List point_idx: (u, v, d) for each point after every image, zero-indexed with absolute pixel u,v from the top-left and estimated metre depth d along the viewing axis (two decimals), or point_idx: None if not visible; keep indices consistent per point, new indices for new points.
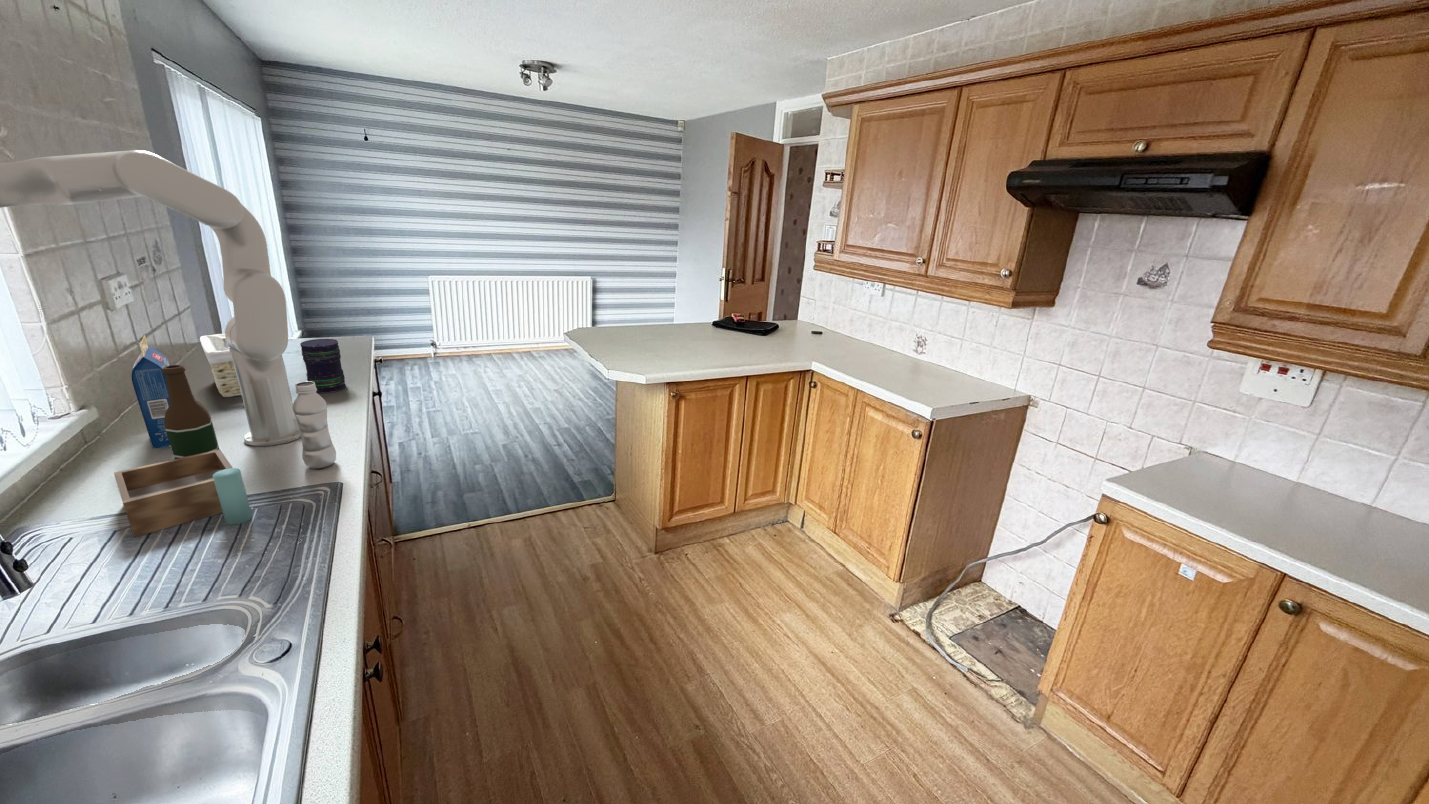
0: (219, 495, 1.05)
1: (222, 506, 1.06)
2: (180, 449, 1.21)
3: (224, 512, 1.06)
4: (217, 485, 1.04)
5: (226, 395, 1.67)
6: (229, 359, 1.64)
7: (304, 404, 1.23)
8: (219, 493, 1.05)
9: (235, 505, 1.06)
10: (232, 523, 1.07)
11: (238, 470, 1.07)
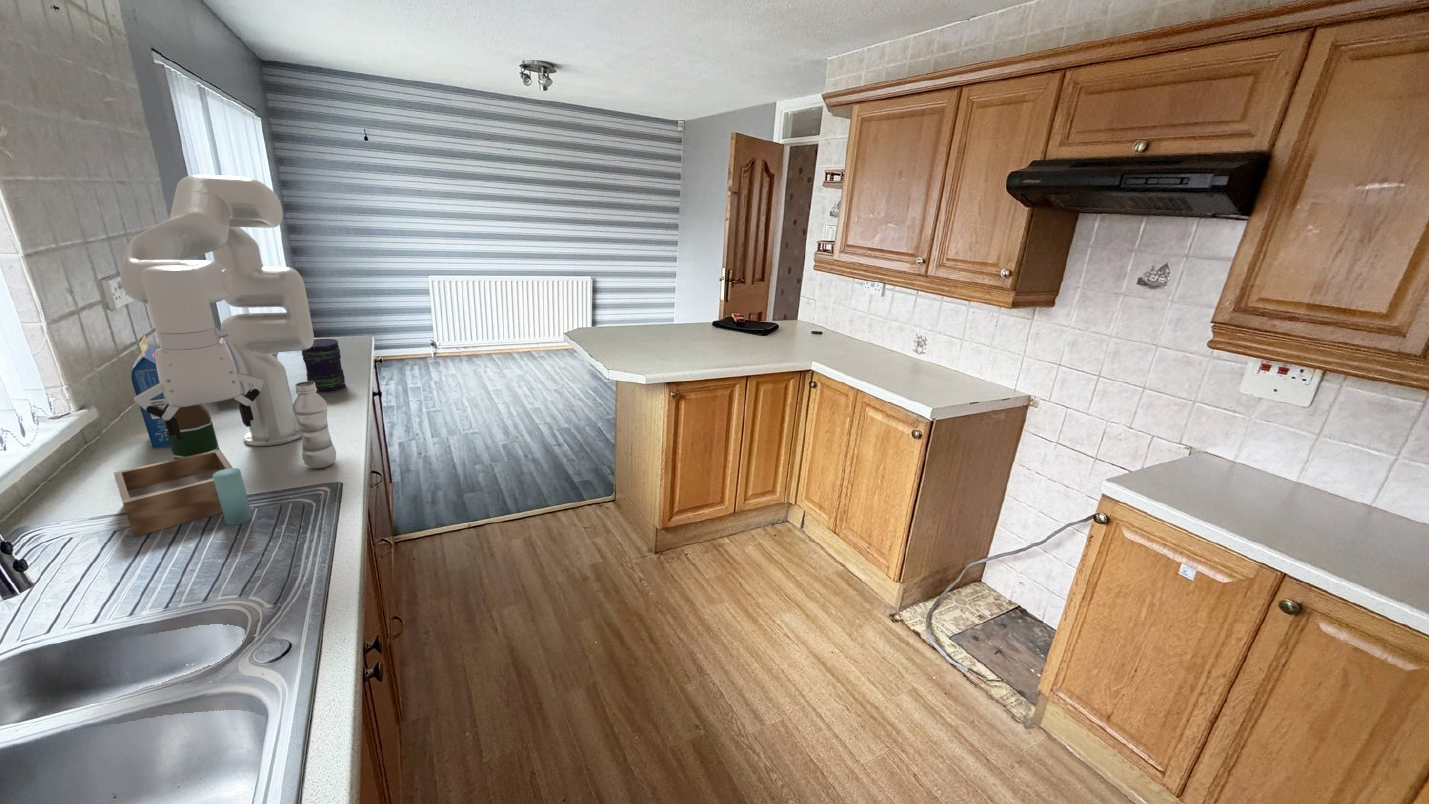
0: (219, 495, 1.05)
1: (222, 506, 1.06)
2: (180, 449, 1.21)
3: (224, 512, 1.06)
4: (217, 485, 1.04)
5: None
6: None
7: (304, 404, 1.23)
8: (219, 493, 1.05)
9: (235, 505, 1.06)
10: (232, 523, 1.07)
11: (238, 470, 1.07)
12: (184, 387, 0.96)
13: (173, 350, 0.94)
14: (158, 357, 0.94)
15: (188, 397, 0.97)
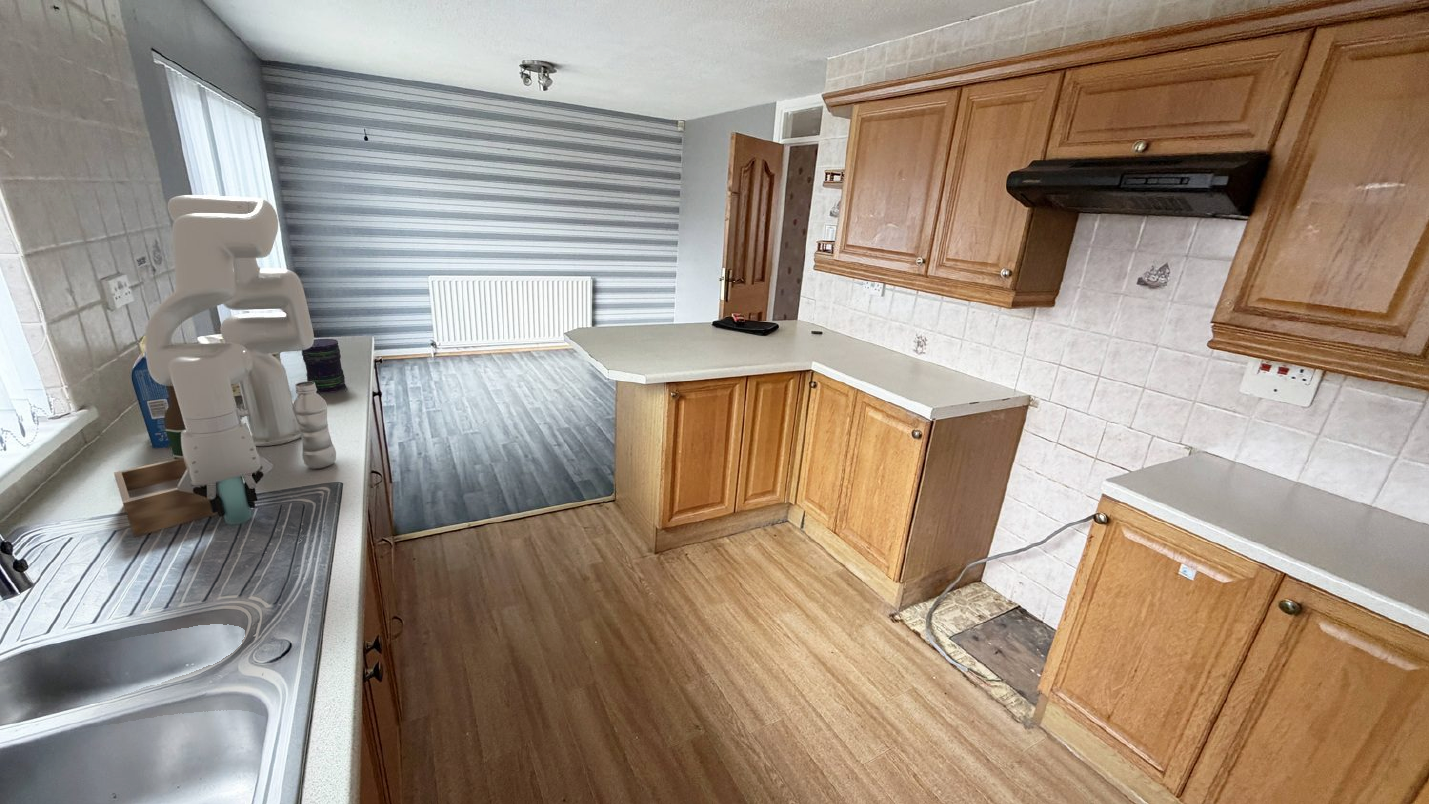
0: (219, 495, 1.05)
1: (222, 506, 1.06)
2: (180, 449, 1.21)
3: (224, 512, 1.06)
4: (217, 485, 1.04)
5: None
6: None
7: (304, 404, 1.23)
8: (219, 493, 1.05)
9: (235, 505, 1.06)
10: (232, 523, 1.07)
11: None
12: (208, 467, 1.01)
13: (198, 434, 0.99)
14: (184, 440, 0.99)
15: (212, 476, 1.02)
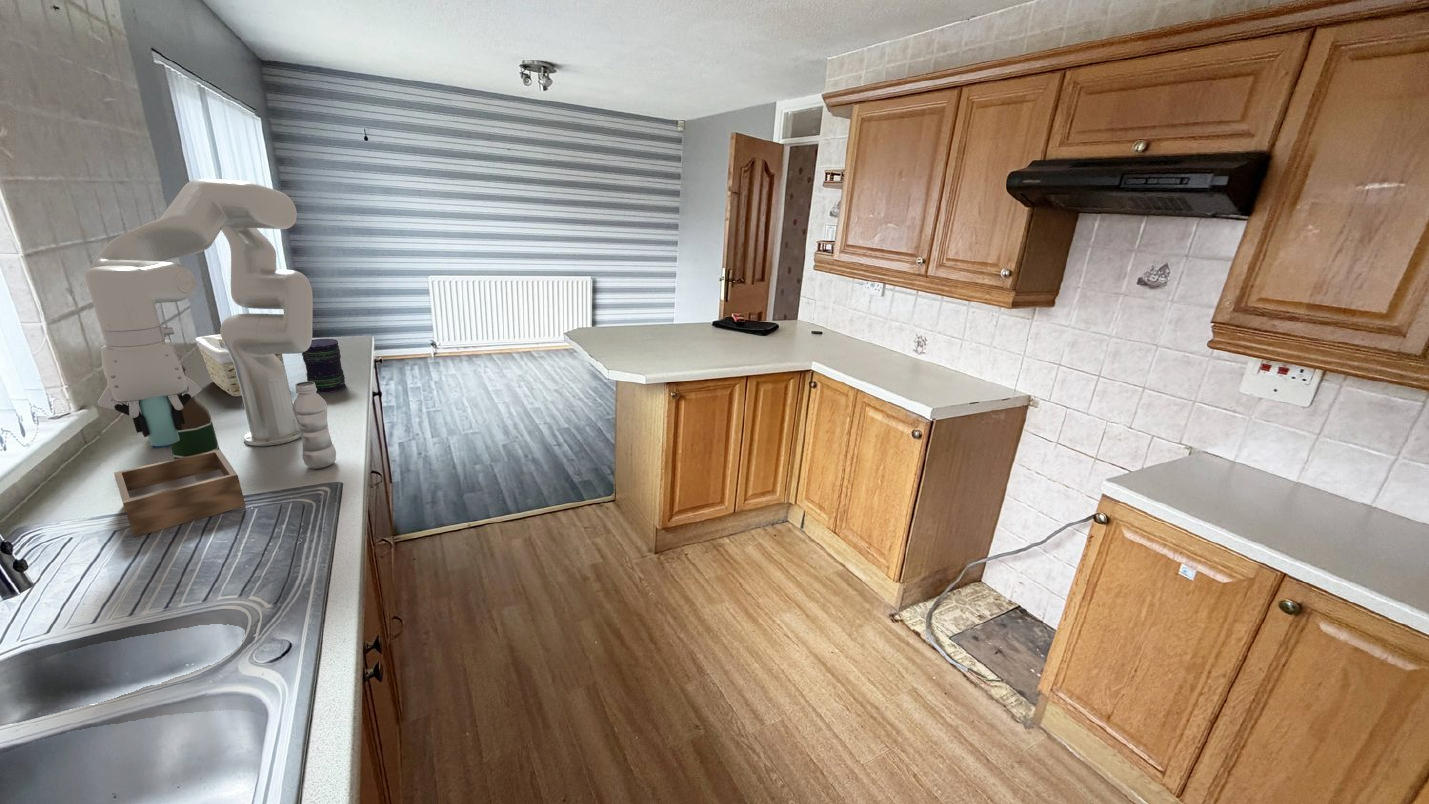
0: (143, 414, 1.04)
1: None
2: (180, 449, 1.21)
3: (149, 432, 1.05)
4: (140, 403, 1.03)
5: (236, 394, 1.68)
6: None
7: (304, 404, 1.23)
8: (143, 412, 1.03)
9: (160, 426, 1.05)
10: (158, 444, 1.05)
11: None
12: (129, 383, 1.00)
13: (118, 347, 0.97)
14: (103, 354, 0.98)
15: (134, 393, 1.01)
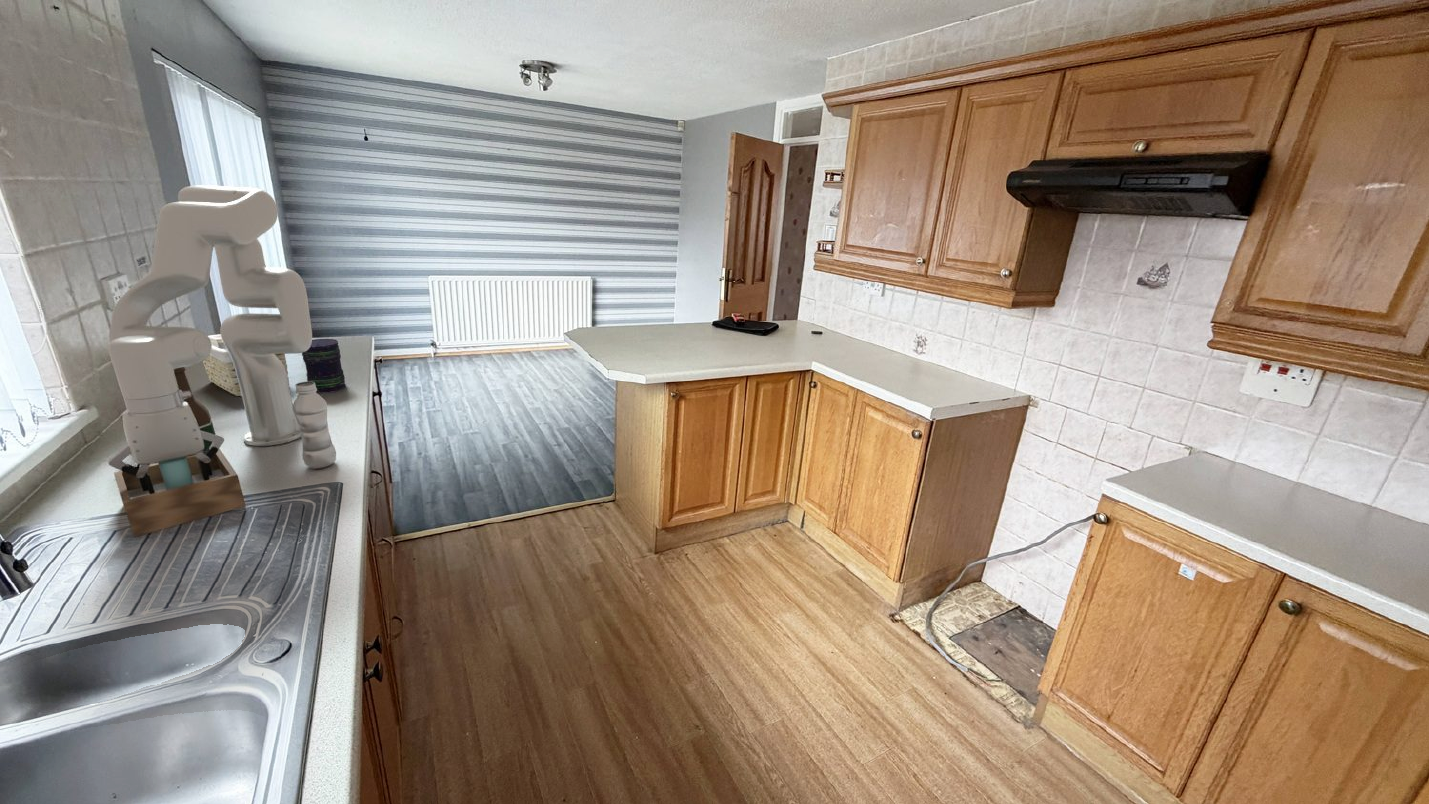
0: (165, 481, 1.09)
1: None
2: None
3: None
4: (162, 471, 1.08)
5: (239, 394, 1.68)
6: None
7: (304, 404, 1.23)
8: (165, 479, 1.08)
9: None
10: None
11: (184, 457, 1.10)
12: (149, 446, 1.04)
13: (139, 413, 1.02)
14: (125, 420, 1.02)
15: (154, 455, 1.05)
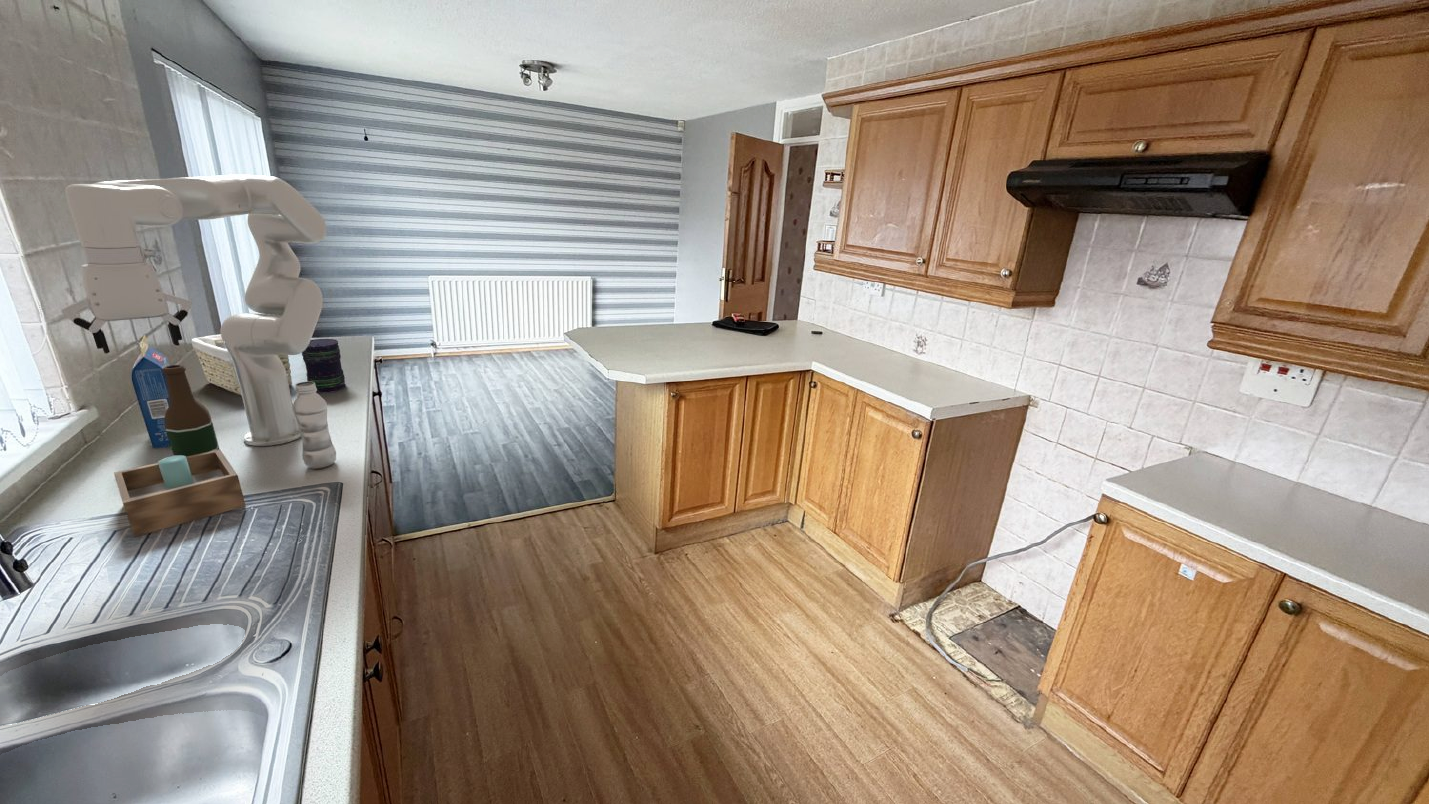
0: (165, 481, 1.09)
1: None
2: (180, 449, 1.21)
3: None
4: (162, 471, 1.08)
5: None
6: None
7: (304, 404, 1.23)
8: (165, 479, 1.08)
9: None
10: None
11: (184, 457, 1.10)
12: (110, 301, 1.02)
13: (98, 264, 0.99)
14: (84, 271, 0.99)
15: (115, 312, 1.03)
